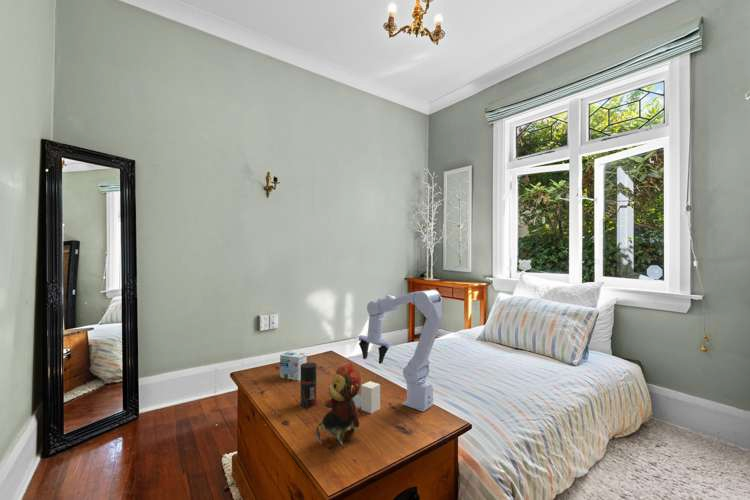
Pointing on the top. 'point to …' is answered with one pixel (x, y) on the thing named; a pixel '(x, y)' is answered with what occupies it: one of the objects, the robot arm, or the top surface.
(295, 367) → the light bulb box
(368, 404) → the block
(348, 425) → the stuffed monkey
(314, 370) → the deodorant
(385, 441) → the top surface
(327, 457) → the top surface
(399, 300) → the robot arm
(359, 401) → the grey flat panel
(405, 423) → the top surface
